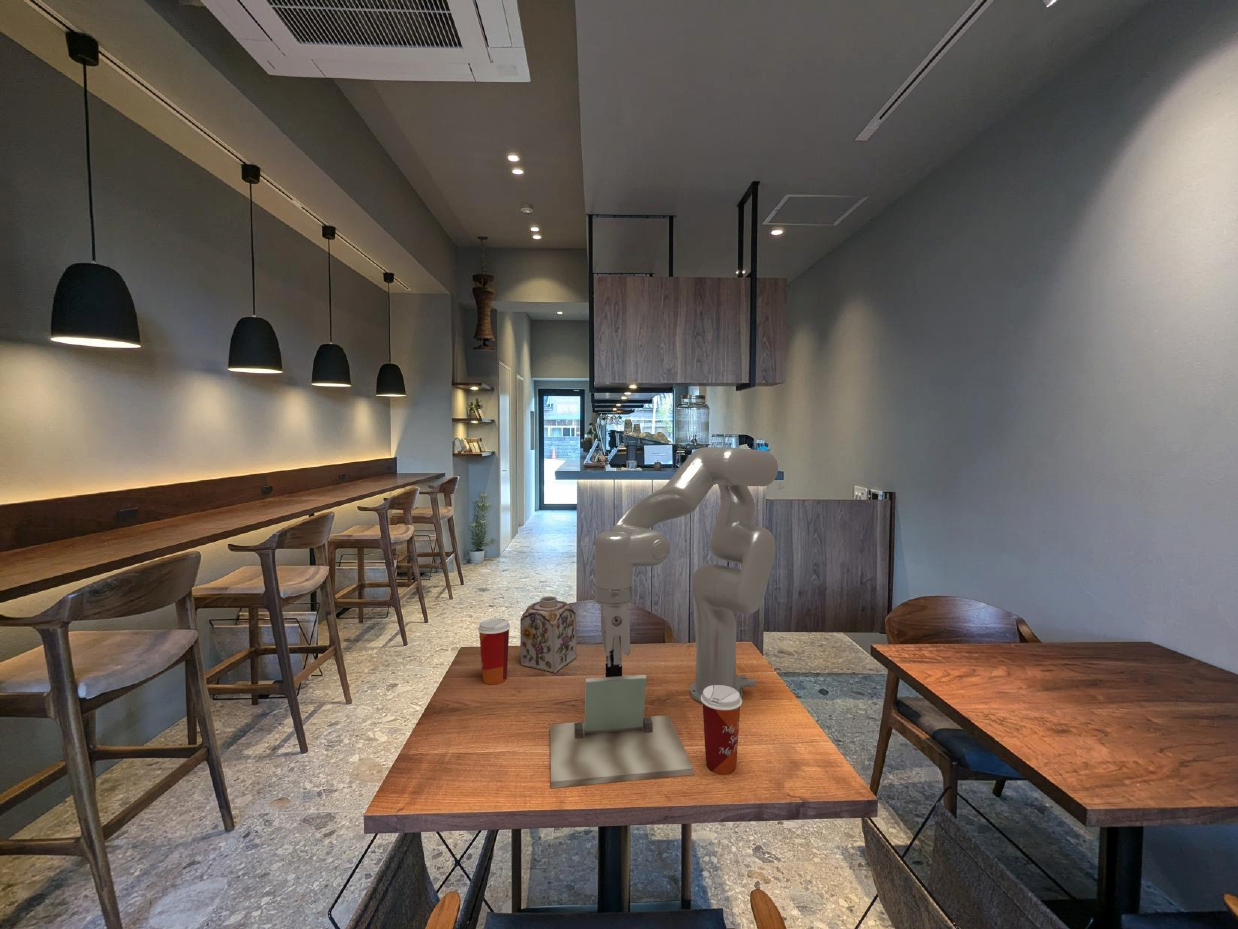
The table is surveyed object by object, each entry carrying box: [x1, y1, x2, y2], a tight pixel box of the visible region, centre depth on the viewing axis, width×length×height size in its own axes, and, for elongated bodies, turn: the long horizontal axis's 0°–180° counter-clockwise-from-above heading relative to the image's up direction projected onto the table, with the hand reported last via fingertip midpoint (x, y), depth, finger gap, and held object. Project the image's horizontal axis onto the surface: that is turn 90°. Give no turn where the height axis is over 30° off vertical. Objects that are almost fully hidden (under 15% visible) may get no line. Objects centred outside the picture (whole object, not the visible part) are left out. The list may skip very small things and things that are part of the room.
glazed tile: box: [584, 674, 647, 734], centre depth 105 cm, size 12×1×14 cm, turn 98°
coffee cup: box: [477, 617, 512, 686], centre depth 134 cm, size 8×8×15 cm
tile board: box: [549, 714, 694, 789], centre depth 103 cm, size 26×19×3 cm
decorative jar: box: [519, 595, 578, 674], centre depth 145 cm, size 12×12×18 cm
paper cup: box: [701, 685, 743, 775], centre depth 98 cm, size 8×8×14 cm
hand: (613, 683), depth 105 cm, fingers closed
